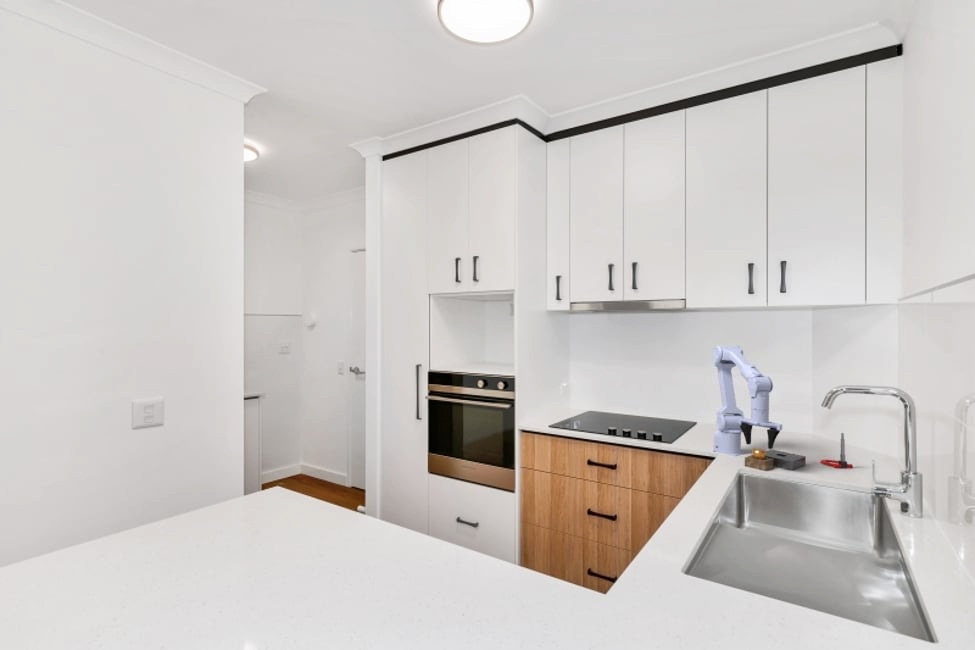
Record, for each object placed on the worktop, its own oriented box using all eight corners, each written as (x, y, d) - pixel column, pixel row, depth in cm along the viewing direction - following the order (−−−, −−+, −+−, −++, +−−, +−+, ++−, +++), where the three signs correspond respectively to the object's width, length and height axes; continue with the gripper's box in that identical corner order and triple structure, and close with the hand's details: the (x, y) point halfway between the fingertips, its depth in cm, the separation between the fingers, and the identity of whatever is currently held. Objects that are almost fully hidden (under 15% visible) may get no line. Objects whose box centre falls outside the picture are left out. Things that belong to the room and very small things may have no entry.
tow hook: (815, 462, 185) (833, 468, 176) (815, 429, 186) (833, 433, 177) (836, 462, 185) (855, 468, 176) (836, 429, 186) (855, 433, 177)
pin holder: (744, 466, 176) (744, 457, 176) (753, 463, 181) (753, 454, 181) (764, 471, 171) (764, 462, 171) (773, 468, 175) (773, 458, 175)
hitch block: (757, 463, 181) (757, 454, 181) (771, 458, 189) (771, 449, 189) (792, 471, 172) (792, 461, 172) (805, 465, 179) (805, 456, 179)
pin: (749, 466, 176) (750, 449, 176) (755, 464, 179) (755, 447, 179) (762, 469, 173) (762, 452, 173) (768, 467, 175) (768, 450, 175)
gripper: (734, 407, 179) (734, 443, 179) (776, 413, 167) (775, 452, 167) (743, 405, 183) (743, 441, 183) (785, 411, 172) (784, 449, 172)
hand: (759, 446), depth 176 cm, fingers open, 7 cm apart
